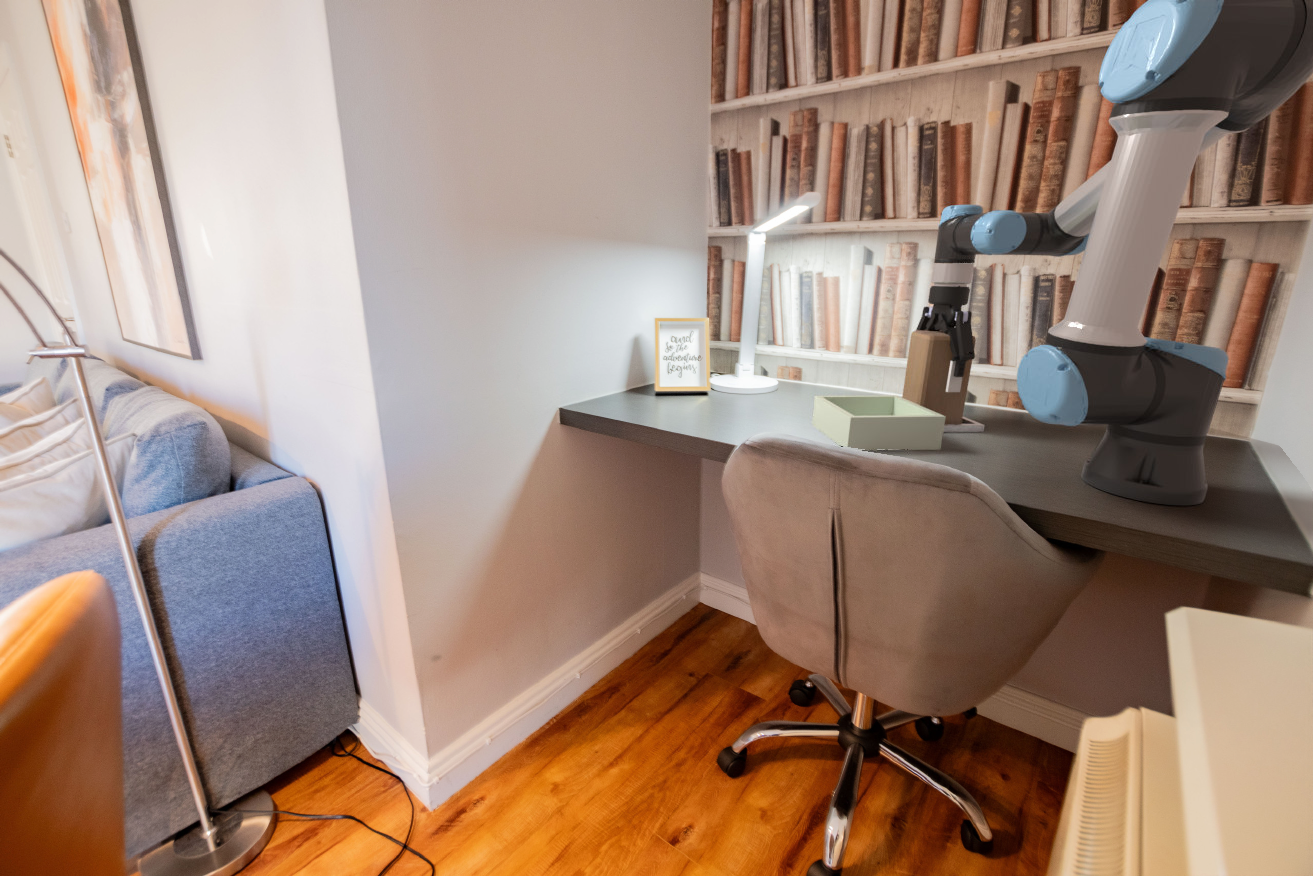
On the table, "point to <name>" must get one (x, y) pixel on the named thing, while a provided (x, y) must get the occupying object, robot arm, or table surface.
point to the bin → (878, 422)
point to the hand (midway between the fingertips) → (934, 385)
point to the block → (934, 375)
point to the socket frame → (964, 426)
